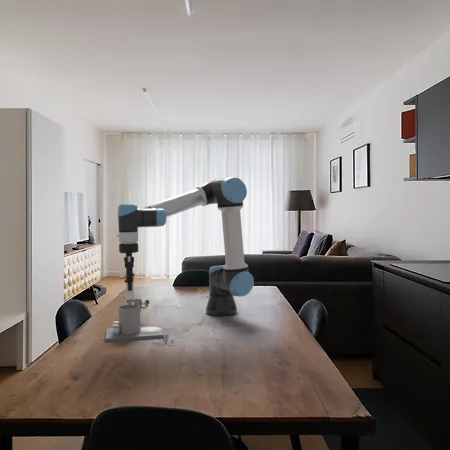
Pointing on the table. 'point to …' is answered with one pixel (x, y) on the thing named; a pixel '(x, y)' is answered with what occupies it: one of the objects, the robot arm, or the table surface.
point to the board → (145, 333)
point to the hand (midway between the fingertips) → (130, 295)
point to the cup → (129, 319)
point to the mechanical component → (138, 303)
